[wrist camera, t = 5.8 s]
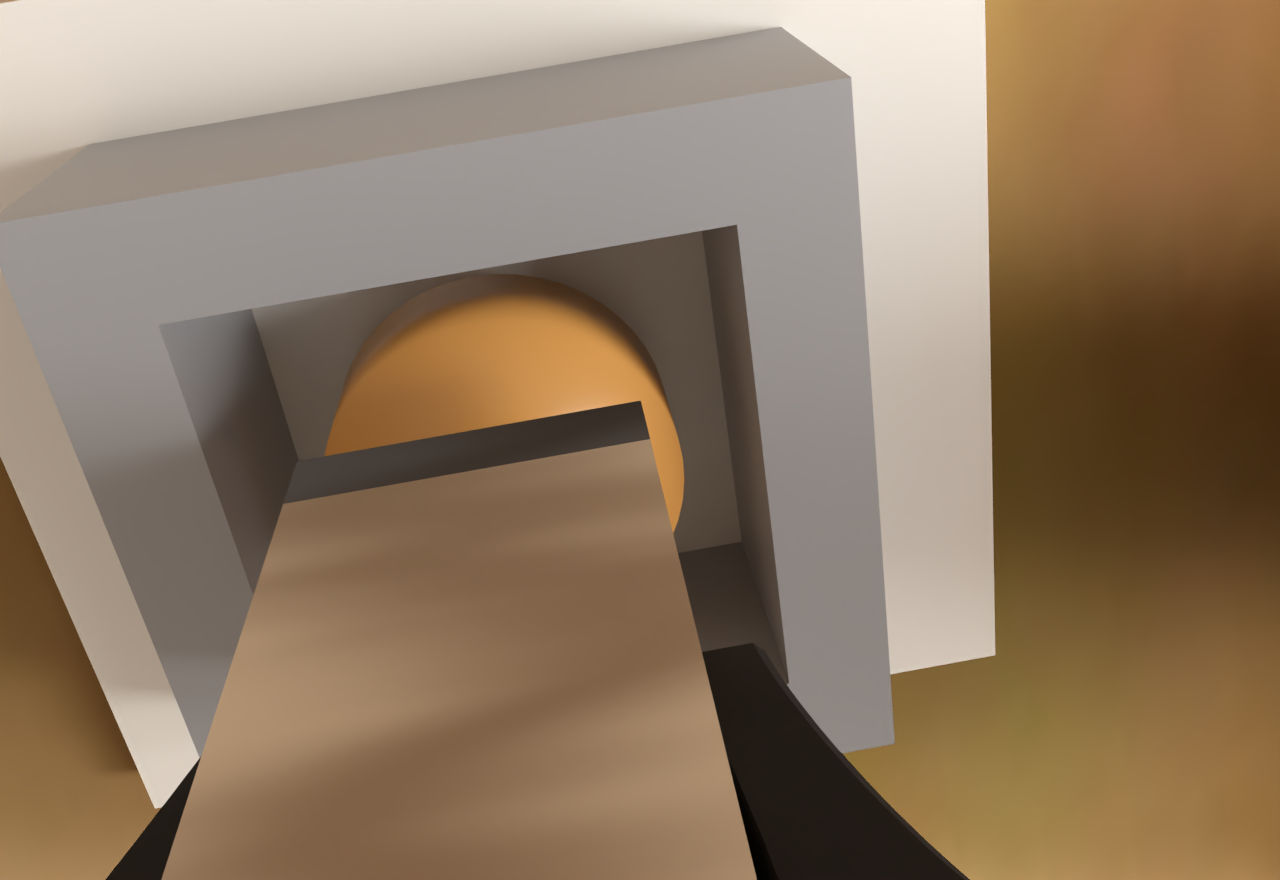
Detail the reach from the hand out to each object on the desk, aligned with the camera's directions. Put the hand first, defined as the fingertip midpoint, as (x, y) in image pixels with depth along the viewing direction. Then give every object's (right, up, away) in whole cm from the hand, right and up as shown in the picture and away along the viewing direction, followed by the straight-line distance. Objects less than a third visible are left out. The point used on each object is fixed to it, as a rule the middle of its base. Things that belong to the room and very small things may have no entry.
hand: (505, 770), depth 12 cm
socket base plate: (-1, +4, +9) cm, 10 cm away
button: (-1, +3, +7) cm, 8 cm away
